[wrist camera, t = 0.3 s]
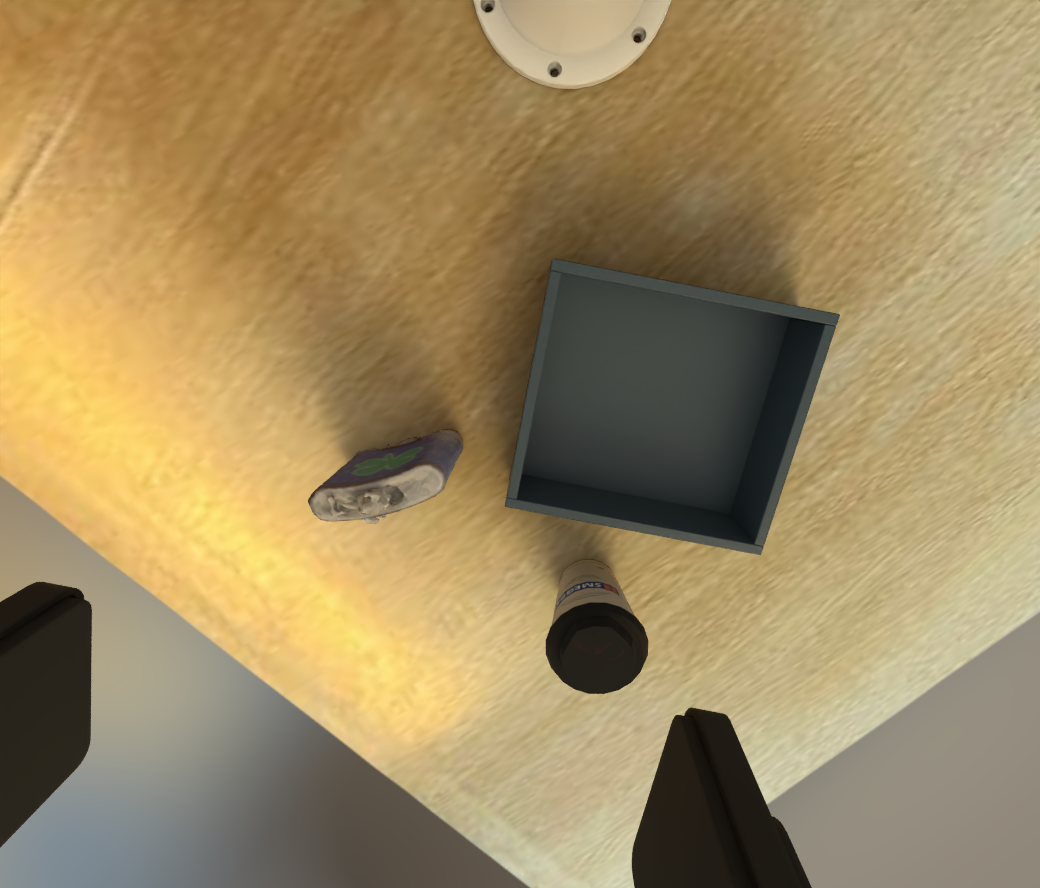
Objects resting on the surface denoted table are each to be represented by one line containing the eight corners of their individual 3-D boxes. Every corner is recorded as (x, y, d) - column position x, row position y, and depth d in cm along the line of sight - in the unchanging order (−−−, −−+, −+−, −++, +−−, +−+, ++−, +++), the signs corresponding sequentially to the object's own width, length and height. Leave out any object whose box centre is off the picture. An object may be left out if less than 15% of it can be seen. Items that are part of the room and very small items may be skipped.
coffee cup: (635, 616, 49) (658, 700, 40) (552, 627, 50) (554, 712, 40) (625, 540, 47) (646, 607, 38) (538, 552, 48) (537, 621, 38)
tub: (551, 260, 42) (552, 258, 36) (799, 309, 42) (840, 314, 36) (509, 478, 46) (504, 507, 41) (733, 520, 47) (761, 555, 41)
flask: (458, 424, 45) (433, 468, 35) (469, 459, 46) (448, 513, 36) (345, 453, 46) (288, 504, 36) (357, 487, 47) (305, 547, 37)
